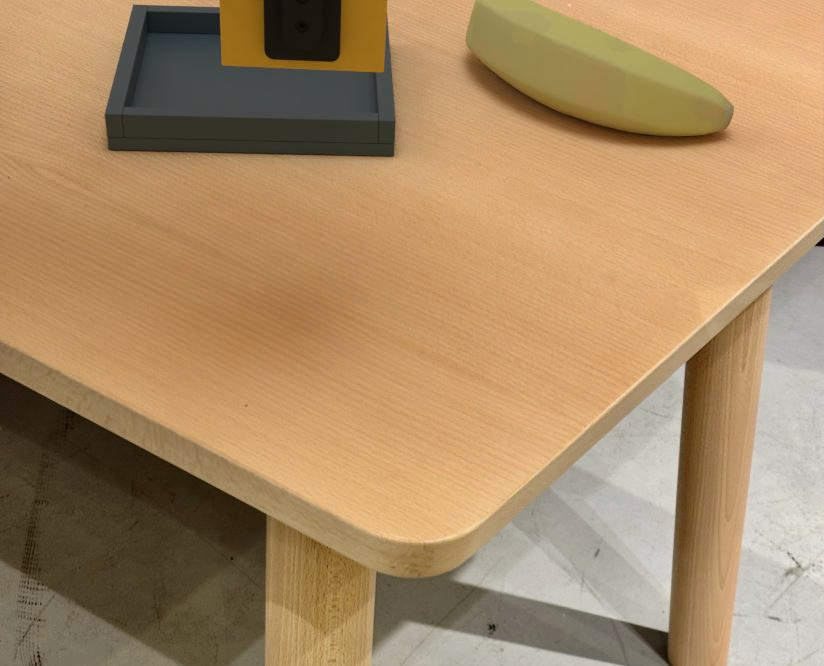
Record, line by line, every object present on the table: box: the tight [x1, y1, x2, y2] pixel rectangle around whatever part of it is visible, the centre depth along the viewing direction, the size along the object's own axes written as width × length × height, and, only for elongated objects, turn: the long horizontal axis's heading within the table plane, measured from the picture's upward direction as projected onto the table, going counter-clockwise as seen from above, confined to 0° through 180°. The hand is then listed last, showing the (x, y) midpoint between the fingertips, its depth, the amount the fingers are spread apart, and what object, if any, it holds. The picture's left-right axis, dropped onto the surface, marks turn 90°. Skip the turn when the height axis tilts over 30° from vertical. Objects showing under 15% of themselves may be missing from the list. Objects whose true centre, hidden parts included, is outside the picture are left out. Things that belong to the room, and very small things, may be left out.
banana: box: [465, 0, 735, 137], centre depth 91 cm, size 14×6×20 cm
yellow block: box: [219, 0, 388, 72], centre depth 60 cm, size 7×5×4 cm, turn 92°
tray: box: [104, 4, 397, 157], centre depth 88 cm, size 17×16×2 cm
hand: (304, 27), depth 61 cm, fingers closed on yellow block, 4 cm apart
